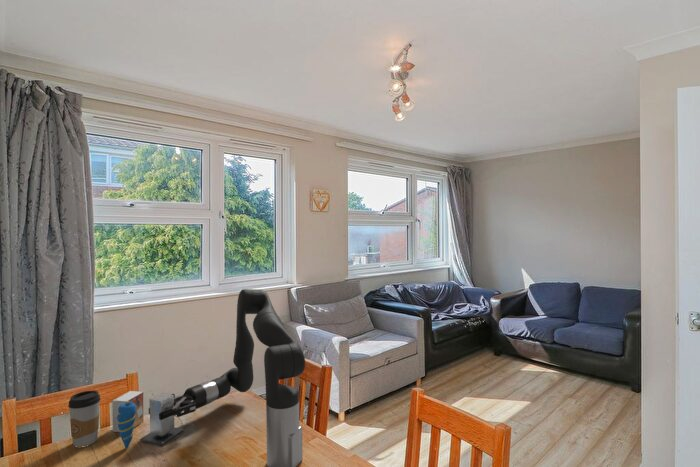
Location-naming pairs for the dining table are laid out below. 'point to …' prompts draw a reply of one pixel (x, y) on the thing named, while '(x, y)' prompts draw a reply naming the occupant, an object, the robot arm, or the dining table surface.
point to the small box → (132, 396)
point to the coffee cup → (84, 417)
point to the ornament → (126, 421)
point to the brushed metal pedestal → (157, 406)
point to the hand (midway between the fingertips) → (154, 414)
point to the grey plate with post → (161, 437)
